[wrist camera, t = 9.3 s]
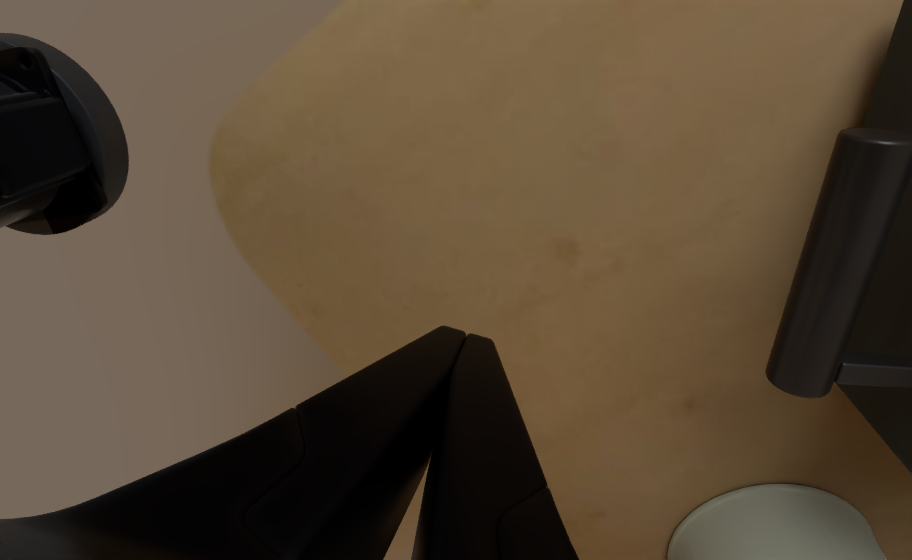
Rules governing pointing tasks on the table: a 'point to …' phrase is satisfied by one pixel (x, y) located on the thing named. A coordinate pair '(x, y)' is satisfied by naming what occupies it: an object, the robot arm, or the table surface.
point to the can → (775, 527)
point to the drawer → (860, 266)
